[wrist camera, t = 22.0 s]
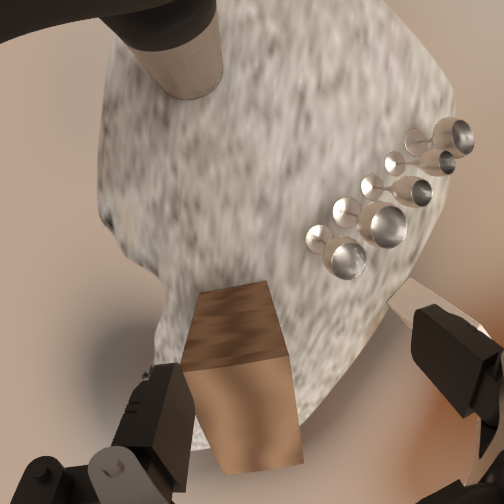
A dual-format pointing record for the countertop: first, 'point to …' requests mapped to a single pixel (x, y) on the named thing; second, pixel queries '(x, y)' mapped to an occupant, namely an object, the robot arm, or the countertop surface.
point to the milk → (422, 303)
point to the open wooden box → (242, 380)
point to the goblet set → (383, 213)
